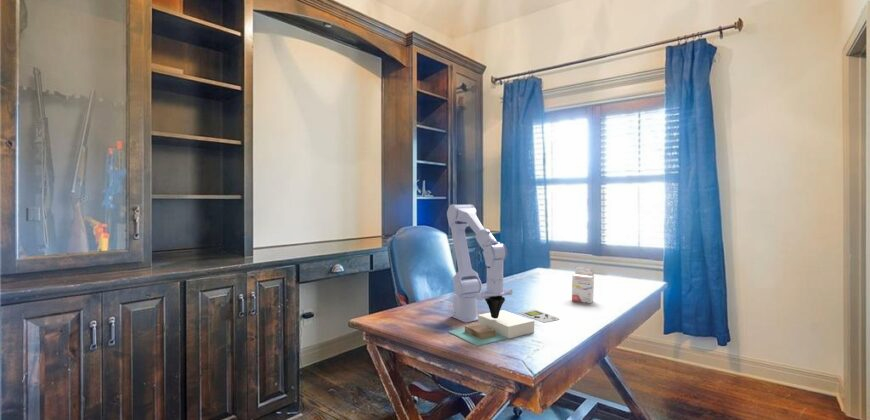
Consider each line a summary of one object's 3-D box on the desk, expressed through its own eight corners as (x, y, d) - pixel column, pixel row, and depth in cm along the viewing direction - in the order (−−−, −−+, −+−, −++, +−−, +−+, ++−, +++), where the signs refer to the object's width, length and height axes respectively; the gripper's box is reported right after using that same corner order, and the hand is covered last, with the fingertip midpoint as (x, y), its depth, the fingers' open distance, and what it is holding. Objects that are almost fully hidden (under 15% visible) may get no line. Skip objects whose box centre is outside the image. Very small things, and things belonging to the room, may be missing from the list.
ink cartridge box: (571, 300, 185) (571, 268, 185) (574, 298, 190) (574, 266, 189) (591, 303, 181) (591, 270, 180) (593, 301, 185) (594, 268, 184)
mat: (448, 332, 143) (448, 331, 142) (478, 325, 149) (478, 324, 149) (477, 346, 129) (477, 345, 129) (508, 338, 136) (508, 337, 136)
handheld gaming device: (543, 321, 153) (517, 311, 166) (543, 323, 153) (517, 313, 166) (561, 318, 157) (534, 308, 171) (561, 320, 157) (534, 310, 171)
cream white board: (478, 325, 149) (478, 314, 149) (503, 320, 156) (503, 309, 156) (508, 338, 136) (508, 326, 136) (534, 332, 142) (534, 320, 142)
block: (478, 323, 145) (478, 328, 145) (464, 326, 142) (464, 331, 142) (495, 330, 137) (495, 336, 137) (481, 333, 134) (481, 339, 134)
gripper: (486, 283, 135) (485, 324, 136) (518, 278, 143) (518, 317, 144) (472, 279, 141) (472, 318, 142) (504, 275, 149) (504, 312, 150)
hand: (494, 317), depth 143 cm, fingers closed
